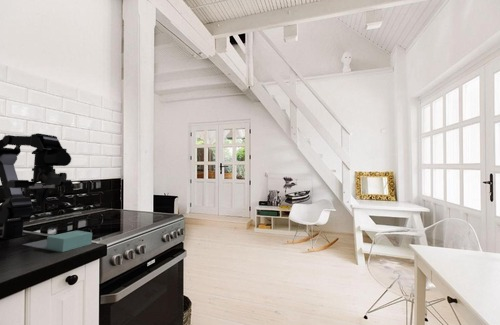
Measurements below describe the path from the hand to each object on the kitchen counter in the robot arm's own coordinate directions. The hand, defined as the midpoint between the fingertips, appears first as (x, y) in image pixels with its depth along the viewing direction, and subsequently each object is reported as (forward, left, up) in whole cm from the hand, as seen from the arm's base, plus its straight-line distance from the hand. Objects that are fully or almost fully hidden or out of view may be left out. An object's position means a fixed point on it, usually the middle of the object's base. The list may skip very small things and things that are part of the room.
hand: (40, 205), depth 90 cm
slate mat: (+14, -2, -13) cm, 20 cm away
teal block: (+17, -2, -10) cm, 20 cm away
